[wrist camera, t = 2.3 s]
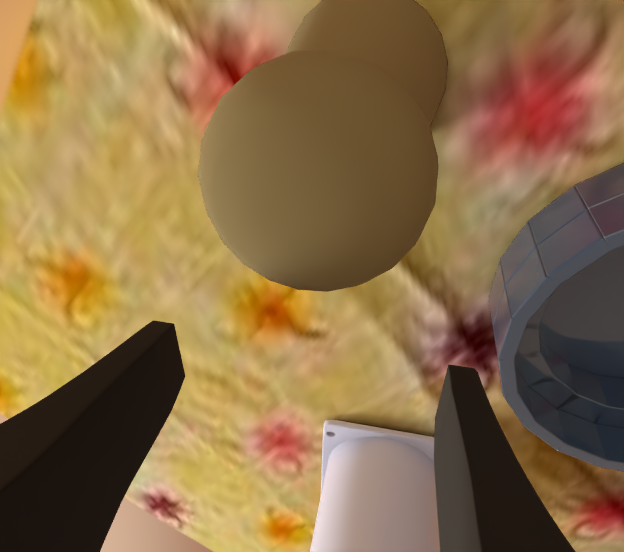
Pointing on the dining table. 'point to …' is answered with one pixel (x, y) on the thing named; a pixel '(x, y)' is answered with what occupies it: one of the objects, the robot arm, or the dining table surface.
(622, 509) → the dining table surface
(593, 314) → the bowl
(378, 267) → the cork
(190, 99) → the dining table surface
